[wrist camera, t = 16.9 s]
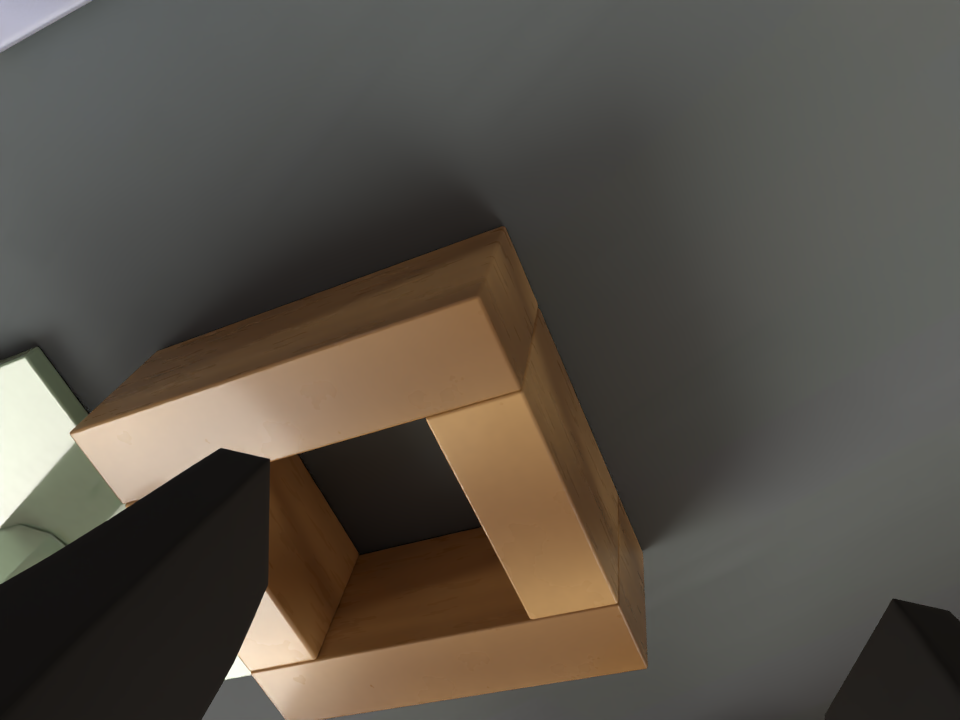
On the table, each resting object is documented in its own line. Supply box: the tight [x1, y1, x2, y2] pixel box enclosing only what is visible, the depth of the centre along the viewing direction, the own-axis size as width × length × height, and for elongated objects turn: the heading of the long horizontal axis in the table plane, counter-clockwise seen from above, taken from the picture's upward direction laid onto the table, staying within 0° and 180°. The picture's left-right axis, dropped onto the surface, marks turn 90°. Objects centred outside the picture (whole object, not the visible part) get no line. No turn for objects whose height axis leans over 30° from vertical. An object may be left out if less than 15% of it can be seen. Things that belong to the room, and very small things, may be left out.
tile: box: [0, 347, 251, 680], centre depth 25 cm, size 13×9×1 cm
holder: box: [70, 226, 648, 720], centre depth 20 cm, size 10×10×4 cm
